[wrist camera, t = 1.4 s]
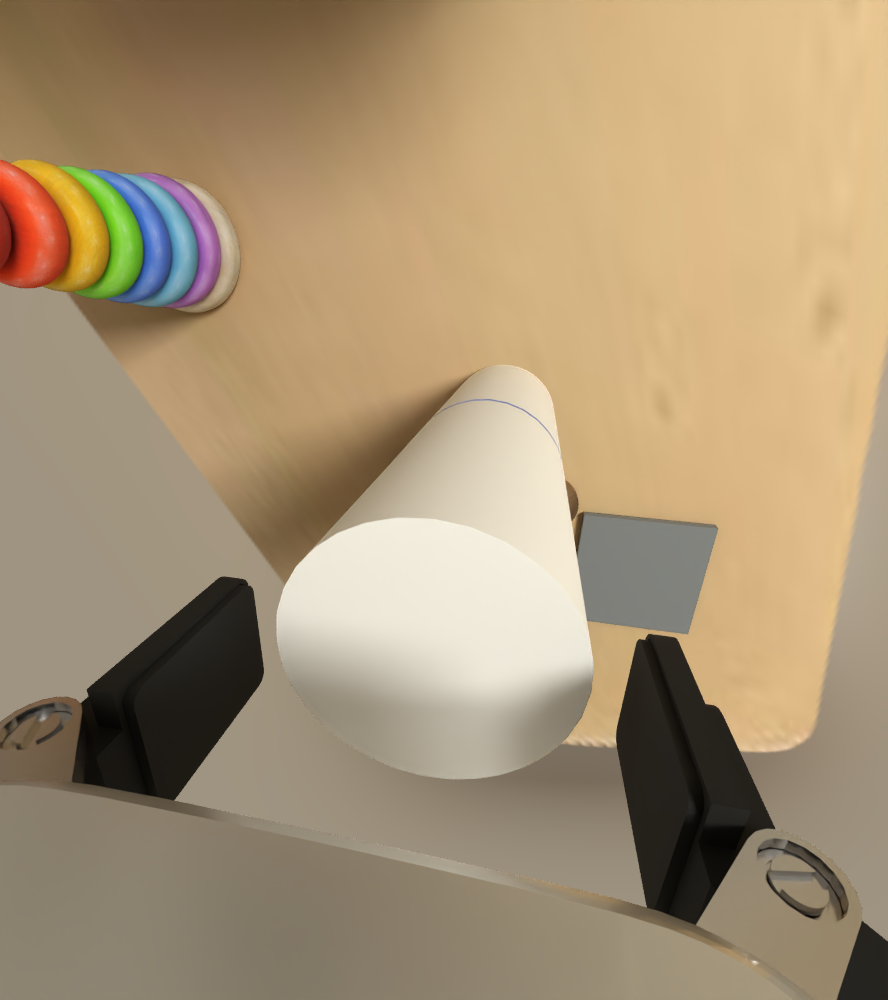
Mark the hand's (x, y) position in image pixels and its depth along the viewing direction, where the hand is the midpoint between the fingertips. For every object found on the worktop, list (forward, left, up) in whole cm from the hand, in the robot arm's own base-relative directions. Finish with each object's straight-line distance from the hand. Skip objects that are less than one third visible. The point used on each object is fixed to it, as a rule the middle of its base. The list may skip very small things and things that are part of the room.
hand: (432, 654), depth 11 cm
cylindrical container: (0, 0, -24) cm, 24 cm away
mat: (+11, +11, -24) cm, 29 cm away
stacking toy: (-10, -22, -24) cm, 35 cm away
